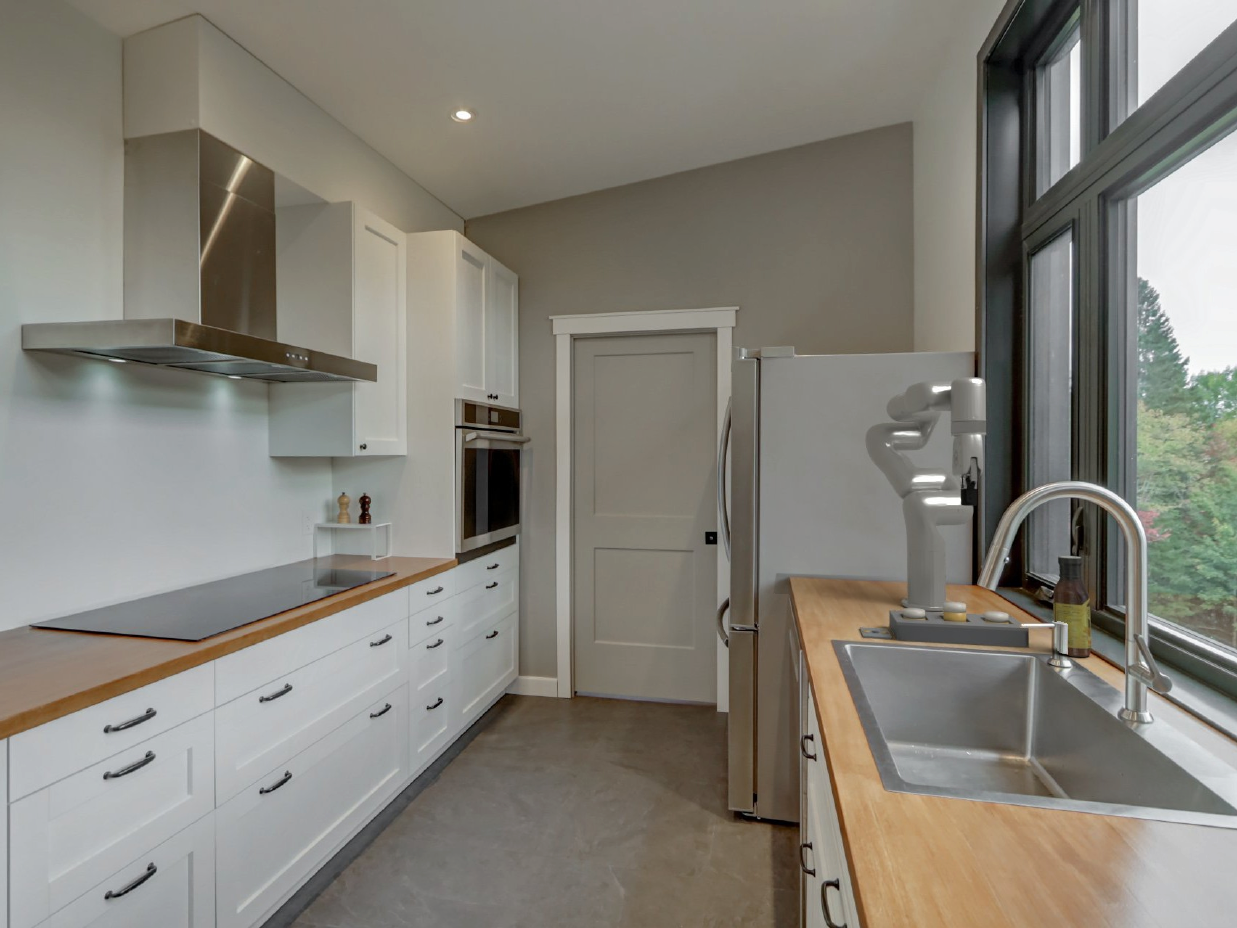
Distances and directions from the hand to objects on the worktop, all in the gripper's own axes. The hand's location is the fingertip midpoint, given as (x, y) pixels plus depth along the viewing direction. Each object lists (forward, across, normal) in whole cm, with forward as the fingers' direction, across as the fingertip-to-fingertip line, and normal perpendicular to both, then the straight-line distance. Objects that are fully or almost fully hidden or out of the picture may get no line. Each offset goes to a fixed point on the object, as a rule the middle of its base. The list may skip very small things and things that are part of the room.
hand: (968, 505), depth 159 cm
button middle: (+27, +12, -6) cm, 30 cm away
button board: (+29, +12, -6) cm, 32 cm away
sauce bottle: (+29, +21, +14) cm, 39 cm away
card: (+29, +13, -23) cm, 39 cm away
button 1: (+29, +12, -15) cm, 34 cm away
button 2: (+29, +12, +2) cm, 31 cm away
